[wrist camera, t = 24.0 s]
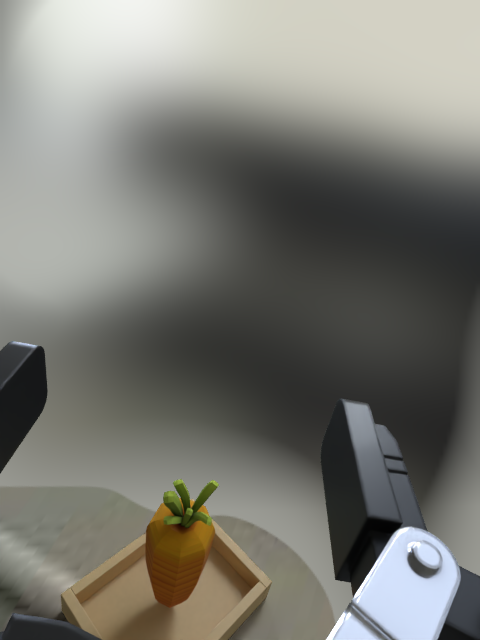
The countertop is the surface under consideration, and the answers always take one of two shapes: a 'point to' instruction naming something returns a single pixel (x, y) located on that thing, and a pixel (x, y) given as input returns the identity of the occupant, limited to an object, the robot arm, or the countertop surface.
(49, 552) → the countertop surface
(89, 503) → the countertop surface
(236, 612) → the tray
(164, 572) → the carrot
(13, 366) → the robot arm
